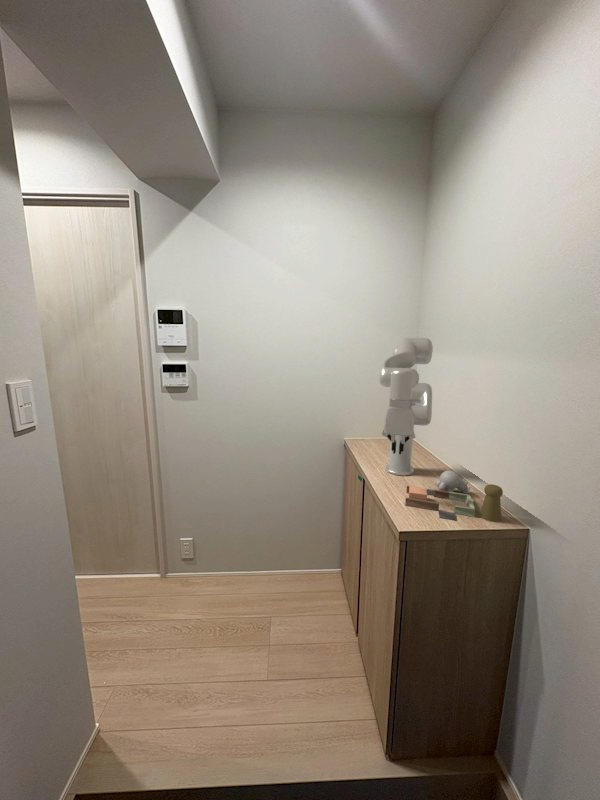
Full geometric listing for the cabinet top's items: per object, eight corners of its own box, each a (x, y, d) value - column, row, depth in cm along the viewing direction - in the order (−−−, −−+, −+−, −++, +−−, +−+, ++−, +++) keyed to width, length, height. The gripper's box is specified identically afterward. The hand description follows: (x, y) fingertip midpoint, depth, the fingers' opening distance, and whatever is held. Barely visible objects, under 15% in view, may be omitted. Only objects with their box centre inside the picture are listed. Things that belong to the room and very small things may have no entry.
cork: (476, 513, 110) (479, 482, 109) (493, 512, 111) (496, 482, 109) (487, 522, 104) (491, 490, 103) (505, 521, 105) (509, 489, 103)
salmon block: (408, 495, 123) (409, 486, 123) (425, 498, 121) (426, 488, 121) (408, 502, 118) (409, 492, 117) (426, 505, 116) (427, 494, 115)
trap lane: (407, 486, 131) (407, 480, 131) (467, 495, 124) (468, 489, 123) (404, 511, 110) (404, 504, 110) (476, 524, 103) (477, 516, 103)
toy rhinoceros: (467, 504, 123) (478, 485, 121) (437, 490, 124) (448, 471, 122) (461, 495, 130) (471, 477, 128) (432, 482, 131) (442, 464, 129)
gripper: (423, 403, 118) (419, 452, 121) (379, 401, 123) (377, 447, 126) (423, 406, 111) (419, 458, 114) (376, 403, 116) (374, 453, 119)
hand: (397, 452), depth 120 cm, fingers closed
